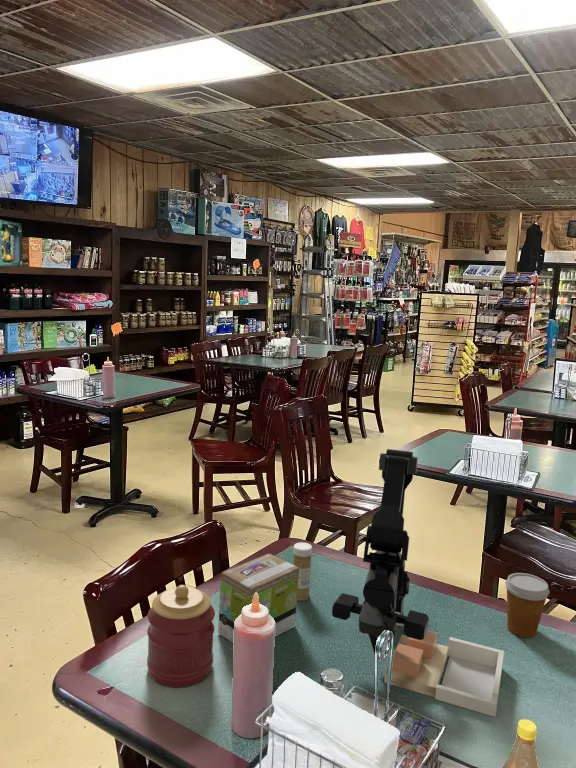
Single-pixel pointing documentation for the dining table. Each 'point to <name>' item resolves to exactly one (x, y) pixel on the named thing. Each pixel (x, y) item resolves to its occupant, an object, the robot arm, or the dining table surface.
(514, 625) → the disposable coffee cup
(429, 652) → the tile back
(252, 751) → the dining table surface
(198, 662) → the canister
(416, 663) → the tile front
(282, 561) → the tea box
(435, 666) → the birch plate
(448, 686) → the bin
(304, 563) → the sprinkles bottle
